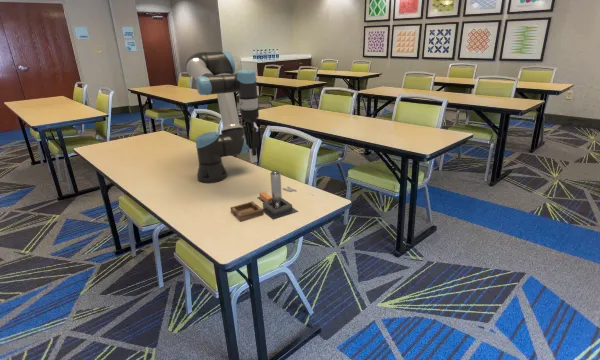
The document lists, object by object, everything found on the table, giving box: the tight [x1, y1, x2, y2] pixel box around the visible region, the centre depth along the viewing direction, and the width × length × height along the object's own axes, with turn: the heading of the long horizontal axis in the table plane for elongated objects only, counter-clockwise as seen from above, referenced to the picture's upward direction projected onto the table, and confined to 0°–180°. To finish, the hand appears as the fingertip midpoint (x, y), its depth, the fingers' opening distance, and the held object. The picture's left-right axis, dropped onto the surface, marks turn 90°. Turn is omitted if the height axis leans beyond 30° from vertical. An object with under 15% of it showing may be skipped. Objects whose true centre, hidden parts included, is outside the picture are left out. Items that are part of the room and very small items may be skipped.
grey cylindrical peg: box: [269, 170, 283, 208], centre depth 145 cm, size 4×4×17 cm
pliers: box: [282, 186, 315, 196], centre depth 164 cm, size 10×2×15 cm
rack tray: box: [230, 200, 265, 222], centre depth 145 cm, size 10×10×3 cm
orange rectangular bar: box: [259, 191, 272, 204], centre depth 156 cm, size 8×2×2 cm, turn 32°
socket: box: [256, 196, 299, 221], centre depth 152 cm, size 23×12×3 cm, turn 32°
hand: (253, 161), depth 158 cm, fingers closed
